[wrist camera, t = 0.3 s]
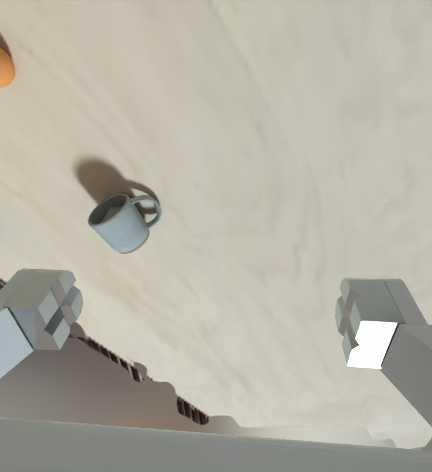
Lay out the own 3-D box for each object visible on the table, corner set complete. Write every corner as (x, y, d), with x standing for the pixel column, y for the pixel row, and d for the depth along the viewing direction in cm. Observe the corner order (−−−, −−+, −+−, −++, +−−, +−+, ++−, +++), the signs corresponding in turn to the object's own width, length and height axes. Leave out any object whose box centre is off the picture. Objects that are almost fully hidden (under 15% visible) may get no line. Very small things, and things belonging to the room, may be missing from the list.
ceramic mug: (123, 234, 61) (111, 263, 55) (96, 201, 56) (79, 229, 51) (171, 217, 58) (164, 246, 52) (147, 181, 53) (135, 208, 47)
